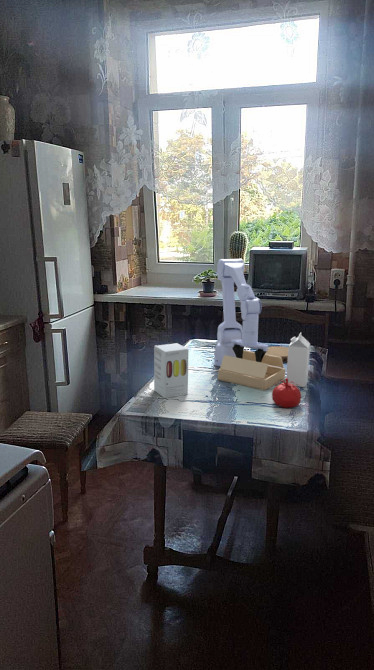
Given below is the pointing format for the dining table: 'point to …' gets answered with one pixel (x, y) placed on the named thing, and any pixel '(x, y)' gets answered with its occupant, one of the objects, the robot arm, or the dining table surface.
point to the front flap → (244, 366)
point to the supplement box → (171, 370)
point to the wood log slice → (278, 352)
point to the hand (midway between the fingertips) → (248, 366)
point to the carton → (254, 378)
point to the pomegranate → (286, 395)
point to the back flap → (264, 358)
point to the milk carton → (298, 361)
